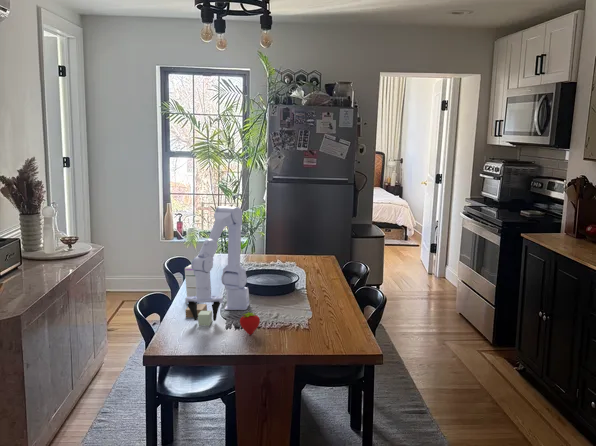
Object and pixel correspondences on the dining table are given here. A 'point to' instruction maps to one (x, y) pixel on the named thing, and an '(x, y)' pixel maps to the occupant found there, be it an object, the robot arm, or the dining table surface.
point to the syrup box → (190, 281)
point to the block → (199, 308)
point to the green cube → (205, 317)
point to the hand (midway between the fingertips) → (205, 319)
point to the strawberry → (249, 322)
